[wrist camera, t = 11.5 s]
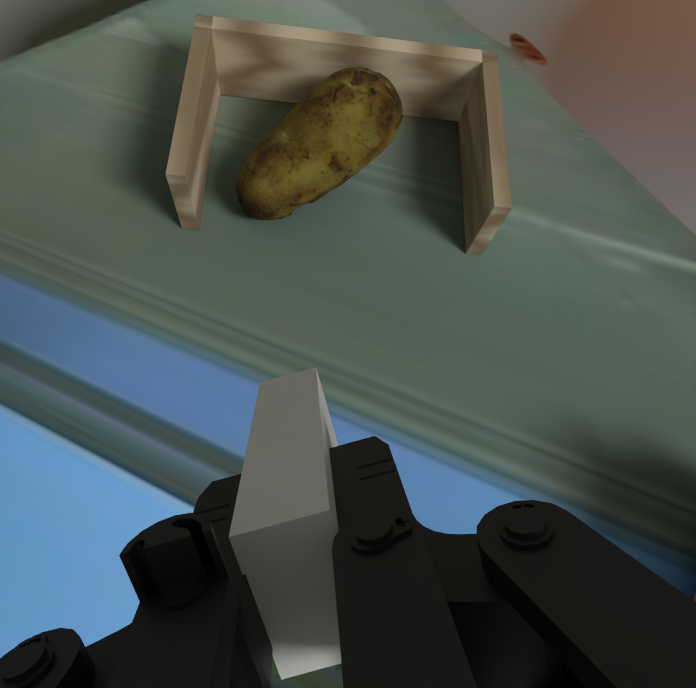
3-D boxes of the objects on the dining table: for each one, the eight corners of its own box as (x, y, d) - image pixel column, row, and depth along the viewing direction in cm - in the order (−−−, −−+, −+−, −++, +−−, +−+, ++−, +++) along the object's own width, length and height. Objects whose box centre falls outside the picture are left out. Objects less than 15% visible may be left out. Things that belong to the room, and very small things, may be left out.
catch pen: (182, 228, 39) (165, 174, 34) (206, 81, 44) (196, 14, 39) (481, 254, 41) (511, 207, 36) (471, 112, 47) (496, 52, 41)
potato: (218, 154, 42) (204, 68, 35) (370, 122, 45) (387, 37, 38) (249, 243, 39) (241, 171, 32) (408, 203, 42) (435, 128, 35)
